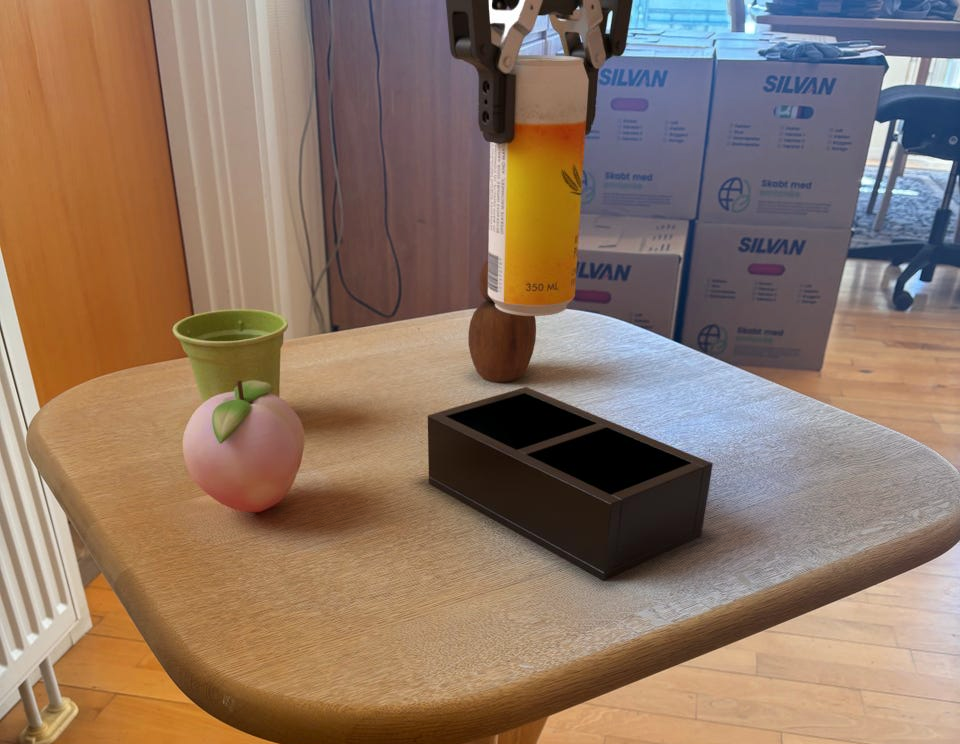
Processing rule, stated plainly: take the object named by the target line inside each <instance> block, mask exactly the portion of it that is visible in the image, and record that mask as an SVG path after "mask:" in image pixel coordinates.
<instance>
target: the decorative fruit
mask: <svg viewBox="0 0 960 744" xmlns="http://www.w3.org/2000/svg"><path fill="white" fill-rule="evenodd" d="M272 390H274V387H273V386H272V385H270V384H269V383H265V382H262V381H255V380H253V381H246V382H243V383H242V381H241V380H237V386H236V387H235V388H234V391H232V392H227V393H223V394H219V395H216V396H214V397H212V398H210V399H208V400H207V401H205V402H204V403H203V402H202V404H201V405H199V406H198V407H197V408H196V410H194V412H193V414H192V415H191V417H190V419H189V420H188V422H187V425H186V427H185V430H184V432H183V436H182V452H183V453H182V454H183V459H184V463H185V466H186V468H187V471H188V473H189V474H190V476H191V477H192V479H193V481H194V482H195V483H196V485H197V486H199V488H200V489H201V490H202V491H203V492H204V493H205V494H207V495H208V496H210V497H211V498H212V499H213V500H215V501H217V502H218V503H220V504H221V505H222V506H225V507H228V508H230V509H232V510H236V511H239V512H245V513H261V512H263V511H266V510H268V509H270V508H271V507H273V506H275V505H277V503H280V502H281V501H282V500H283V499H284V498H285V497H286V495H287V494H288V493H289V492H290V489H291V488H292V487H293V485H294V483H295V480H296V477H297V474H298V472H299V469H300V467H301V464H302V461H303V460H302V459H303V454H304V448H305V440H306V439H305V429H304V425H303V424H302V423H303V422H302V420H301V419H300V417H299V415H298V414H297V413H296V411H295V410H294V409H293V407H292V406H291V405H290V404H289V403H288V402H287V401H285V400H284V399H282V398H281V397H280V396H279V397H278V396H276V395H274V394H271V393H269V392H270V391H272Z"/></svg>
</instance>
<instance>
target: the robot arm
mask: <svg viewBox="0 0 960 744" xmlns="http://www.w3.org/2000/svg"><path fill="white" fill-rule="evenodd" d="M633 3H634V0H445V7H446V16H447V18H446V19H447V31H448V41H449V50H450V54H451V57H452V58H454V59H455V60H459V61H460V60H461V61H463V62H466V63H468V64H469V65H472V66H473V67H474V68H475V70H476V71H477V76H478V105H477V106H478V112H477V113H478V114H477V115H478V117H477V119H478V120H477V123H478V126H479V130H480V132H482V137H483V139H484V141H485V142H487V143H488V142H489V143H490V142H493V143H498V144H505V143H511V142H512V141H513V138H514V120H515V85H516V75H513V74H509V73H510V72H511V71H512V70H513V68H514V65H515V63H516V60H517V57H518V55H520V54H519V53H520V51H521V48H522V45H523V43H524V40H525V38H526V37H527V36H528V35H529V34H530V33H532V31H533V30H534V27H535V24H536V22H537V18H538V16H539V17H540V16H541V17H543V16H545V17H546V16H547V15H548V18H549V21H550V25H551V27H552V29H553V30H554V31H555V32H557V34H558V36H559V39H560V42H561V46H562V50H563V54H564V55H563V56H571V57H579V58H583V59H584V60H583V65H584V68H585V71H586V74H587V77H588V79H589V84H588V99H587V115H586V130H585V137H586V136H588V135H590V133H591V132H592V126H593V125H594V121H595V118H596V110H597V96H598V83H599V81H598V80H599V71H600V69H601V68H602V67H604V64H605V62H606V61H608V60H609V59H611V58H612V57H621V56H623V54H624V53H625V51H626V47H627V41H628V35H629V30H630V29H629V28H630V23H631V17H632V10H633ZM508 8H509V9H508ZM611 12H612V13H611ZM610 13H611V21H610V27H609V33H608V32H607V27H608V20H609V14H610Z"/></svg>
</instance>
